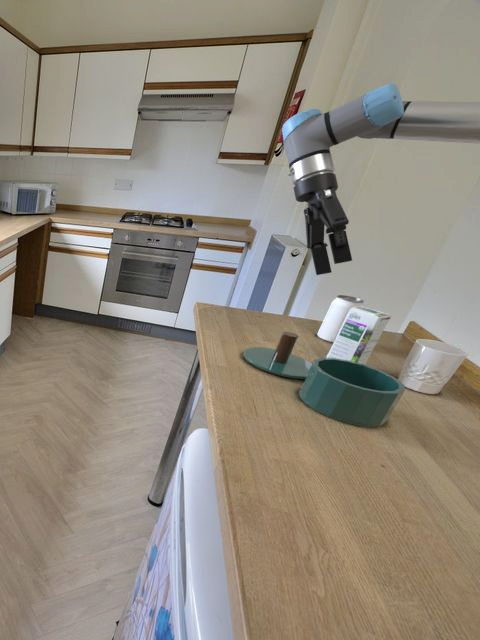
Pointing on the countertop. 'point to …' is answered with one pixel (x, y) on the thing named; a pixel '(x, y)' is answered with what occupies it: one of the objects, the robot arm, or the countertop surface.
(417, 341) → the white cup
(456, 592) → the countertop surface
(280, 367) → the bowl lid
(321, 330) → the can
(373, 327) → the syrup box
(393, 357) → the countertop surface
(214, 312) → the countertop surface
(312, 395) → the bowl
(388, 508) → the countertop surface
